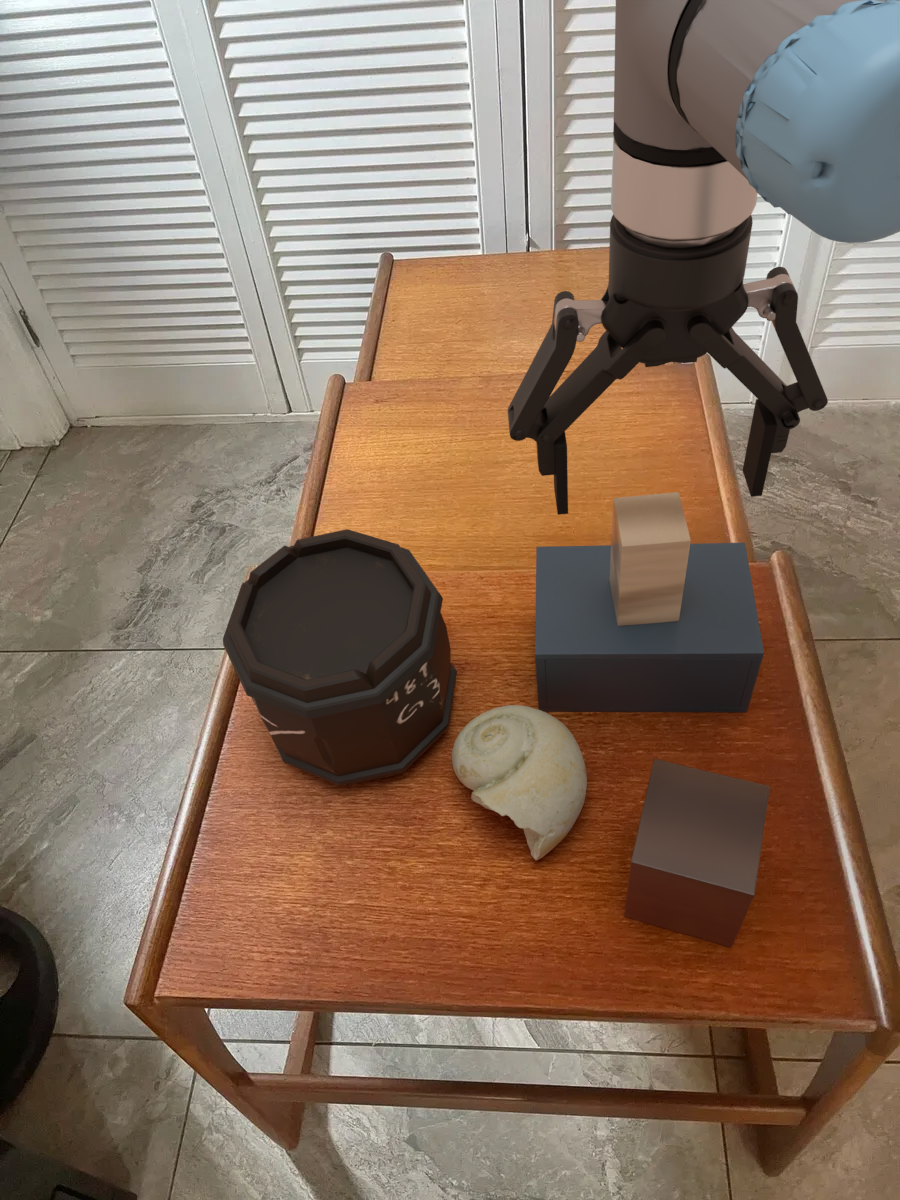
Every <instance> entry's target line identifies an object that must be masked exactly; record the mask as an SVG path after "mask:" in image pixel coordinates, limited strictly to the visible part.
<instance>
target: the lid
mask: <svg viewBox="0 0 900 1200" xmlns="http://www.w3.org/2000/svg"><path fill="white" fill-rule="evenodd" d="M535 549H536V555H535V557H536V558H535V559H536V560H535V563H536V564H535V615H534V616H535V617H534V618H535V619H534V620H535V622H534V626H535V627H534V660H535V659H536V660H558V659H762V660H763V659H764V655H765V649H764V645H763V639H762V632H761V627H760V622H759V616H758V610H757V603H756V598H755V597H756V596H755V591H754V586H753V580H752V573H751V568H750V563H749V557H748V552H747V551H748V550H747V545H746V542H708V543H707V542H704V543H703V542H702V543H690V549H689V556H688V563H687V569H686V576H685V583H684V590H683V596H682V603H681V610H680V616H679V621H674V622H662V623H650V624H637V625H625V626H617V621H616V615H615V609H614V603H613V597H612V591H611V585H610V560H611V544H608V545H607V544H606V545H605V544H604V545H601V544H600V545H559V546H556V545H555V546H554V545H553V546H536V548H535Z"/></svg>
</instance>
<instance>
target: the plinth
mask: <svg viewBox="0 0 900 1200" xmlns="http://www.w3.org/2000/svg"><path fill="white" fill-rule="evenodd" d="M652 762H653V763H652V766H651V770H650V773H649V774H650V775H649V779H648V783H647V788H646V791H645V797H644V801H643V805H642V809H641V815H640V819H639V823H638V828H637V832H636V836H635V840H634V845H633V850H632V855H631V859H630V864H629V874H628V879H627V880H628V882H627V888H626V898H625V905H624V912H623V913H624V914H623V917H625V918H628V919H631V920H634V921H638V922H642V923H645V924H647V925H648V924H649V925H651V926H654V927H655V926H656V927H658V928H662V929H665V930H668V931H673V932H675V933H680V934H683V935H687V936H690V937H694V938H697V939H700V940H703V941H707V942H709V943H713V944H714V943H715V944H717V945H721V946H724V947H727V948H733V946H734V944H735V941H736V938H737V937H738V934H739V932H740V930H741V927H742V926H743V923H744V921H745V919H746V916H747V914H748V912H749V909H750V908H751V905H752V903H753V900H754V899H755V895H756V891H757V890H756V889H757V882H758V875H759V867H760V860H761V854H762V846H763V841H764V840H763V839H764V832H765V825H766V818H767V810H768V806H769V805H768V804H769V797H770V792H771V791H770V790H771V786H770V785H766V784H763V783H759V782H754V781H752V780H751V781H750V780H746V779H743V778H737V777H733V776H730V775H725V774H720V773H716V772H713V771H709V770H704V769H699V768H697V767H692V766H688V765H684V764H679V763H674V762H670V761H666V760H662V759H658V758H654V759H653V761H652Z"/></svg>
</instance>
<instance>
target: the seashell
mask: <svg viewBox="0 0 900 1200" xmlns="http://www.w3.org/2000/svg"><path fill="white" fill-rule="evenodd" d="M451 766H452V769H453V771H454V774H455V776H456V777H457V779H458V780H459V782H460V783H461V784H462V785H463V786H464V787H466V788H467V789H470V790H471V791H472V792H471V797H470V799H471V800H472V801H473V802H474V803H475V804H478V805H480V806H482V807H483V808H484V809H487V810H489V811H493V812H495V813H497V814H499V815H500V816H501V817H505V816H508V817H509V818H510V820H511V821H513V823H514V825H515V826H516V827H517V828H519V829H521V830H523V834H524V836H525V838H526V839H525V840H526V844H527V846H528V849H529V850H530V856H531V857H532V858H533V859H534V861H539V860H540V859H542V858H544V857H545V856H546V855H547V854H549V853H550V852H551V851H552V850H553V849H554V848H556V846H558V844H560V842H562V841H563V840H564V839H565V838H566V836H567V835H568V834H569V832H570V831H571V830H572V829H573V827H574V825H575V823H576V822H577V820H578V818H579V815H580V813H581V812H582V808H583V806H584V804H585V800H586V797H587V789H588V774H587V768H586V763H585V759H584V755H583V753H582V751H581V747H580V745H579V744H578V742H577V740H576V738H575V737H574V735H573V734H572V732H571V730H569V728H568V727H567V725H565V724H564V723H563V722H562V721H560V720H559V719H557V718H556V717H555V716H552V714H549V712H548V713H547V712H544V711H541V710H539V709H538V708H535V707H531V706H527V705H521V704H520V705H519V704H508V705H502V706H498V707H494V708H491V709H488V710H487V711H484V712H483V713H480V714H479V715H477V716H476V717H474V718H473V719H472V720H470V721H469V722H467V724H466V725H465V726H464V727H463V728H462V729H461V730H460V732H459V733H458V735H457V736H456V739H455V741H454V742H453V747H452V751H451Z"/></svg>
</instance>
